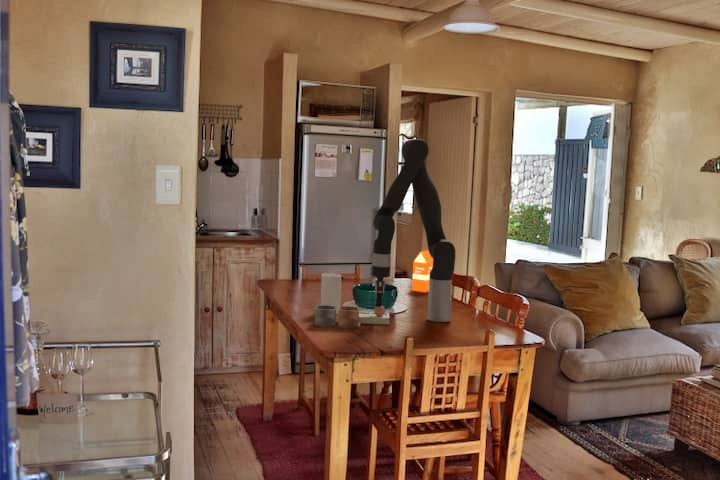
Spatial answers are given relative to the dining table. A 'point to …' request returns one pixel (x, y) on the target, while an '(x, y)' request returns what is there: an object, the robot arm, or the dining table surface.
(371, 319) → the pocket board
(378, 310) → the ball terracotta
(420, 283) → the orange juice
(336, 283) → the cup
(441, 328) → the dining table surface
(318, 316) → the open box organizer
